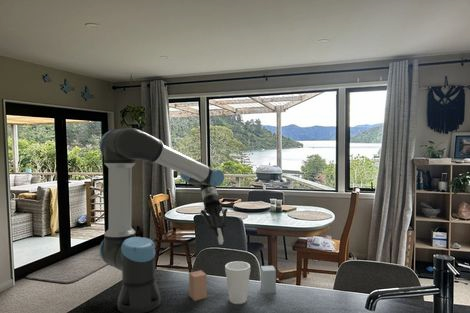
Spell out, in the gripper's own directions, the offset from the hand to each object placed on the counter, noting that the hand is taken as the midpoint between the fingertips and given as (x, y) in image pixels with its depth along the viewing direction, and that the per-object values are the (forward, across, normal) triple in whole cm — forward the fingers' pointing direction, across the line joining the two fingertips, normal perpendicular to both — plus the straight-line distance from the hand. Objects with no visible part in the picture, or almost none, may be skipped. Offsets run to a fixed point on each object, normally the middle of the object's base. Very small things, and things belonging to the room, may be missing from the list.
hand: (221, 242), depth 140 cm
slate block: (+23, +15, 0) cm, 27 cm away
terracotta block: (+20, -13, +4) cm, 24 cm away
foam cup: (+25, 0, -2) cm, 25 cm away
